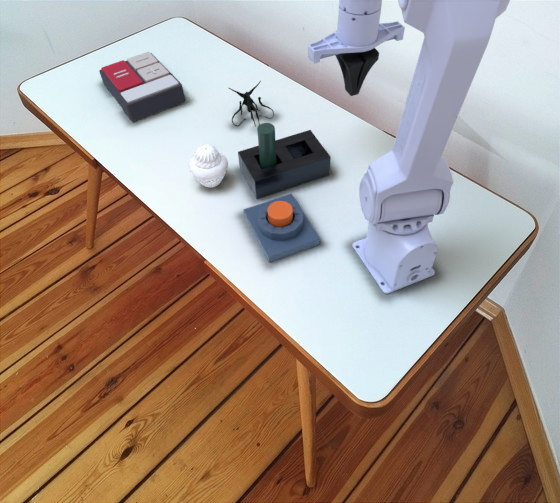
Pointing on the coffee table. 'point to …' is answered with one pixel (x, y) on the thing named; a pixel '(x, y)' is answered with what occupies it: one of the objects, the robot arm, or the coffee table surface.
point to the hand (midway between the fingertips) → (351, 91)
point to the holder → (285, 164)
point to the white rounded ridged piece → (208, 166)
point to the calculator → (142, 86)
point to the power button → (280, 214)
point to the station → (281, 230)
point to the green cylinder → (266, 145)
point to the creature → (249, 104)
